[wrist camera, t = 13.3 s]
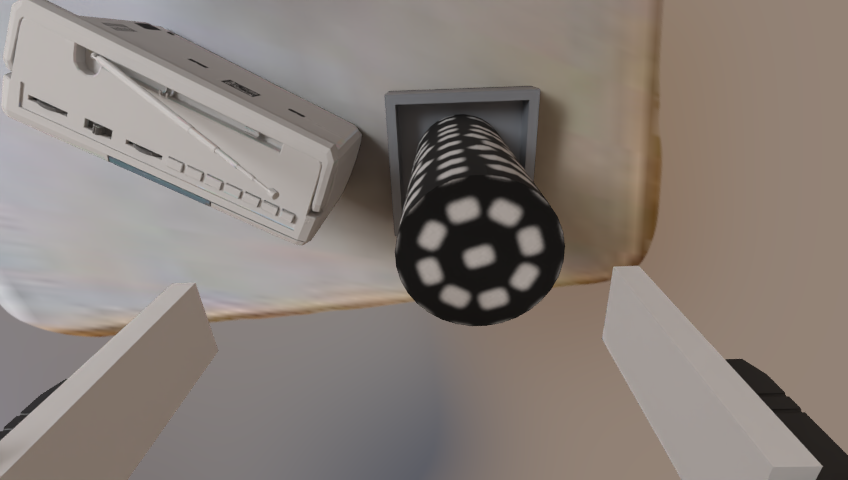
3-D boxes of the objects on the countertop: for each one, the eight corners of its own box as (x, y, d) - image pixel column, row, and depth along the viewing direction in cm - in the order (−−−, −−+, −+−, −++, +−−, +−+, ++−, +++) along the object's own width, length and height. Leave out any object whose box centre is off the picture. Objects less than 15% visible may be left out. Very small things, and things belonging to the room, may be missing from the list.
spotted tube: (491, 100, 36) (542, 149, 18) (515, 186, 40) (580, 301, 21) (402, 132, 38) (369, 207, 20) (432, 213, 41) (428, 342, 23)
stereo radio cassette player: (131, 98, 38) (-148, 141, 20) (149, 7, 35) (-162, -41, 17) (341, 198, 42) (265, 312, 23) (374, 123, 38) (317, 187, 20)
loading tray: (389, 91, 37) (384, 94, 34) (531, 85, 37) (540, 89, 33) (398, 221, 42) (394, 235, 39) (522, 219, 42) (529, 232, 39)
